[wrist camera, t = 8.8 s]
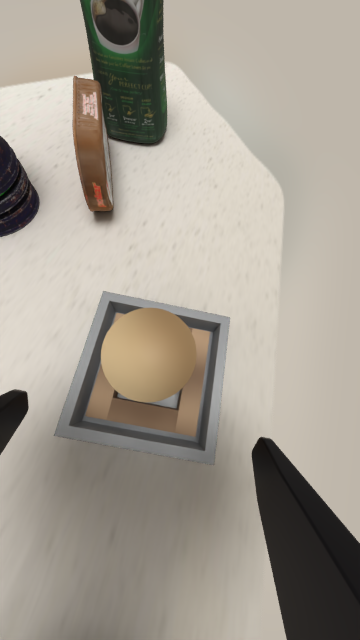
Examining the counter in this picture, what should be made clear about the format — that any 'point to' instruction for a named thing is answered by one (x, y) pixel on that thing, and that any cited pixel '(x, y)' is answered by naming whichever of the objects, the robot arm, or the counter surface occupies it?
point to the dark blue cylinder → (15, 193)
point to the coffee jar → (129, 66)
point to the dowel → (148, 355)
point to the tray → (144, 438)
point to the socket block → (152, 415)
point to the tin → (92, 144)
